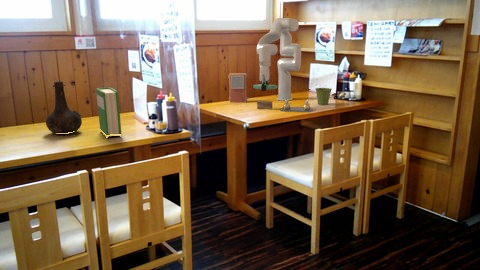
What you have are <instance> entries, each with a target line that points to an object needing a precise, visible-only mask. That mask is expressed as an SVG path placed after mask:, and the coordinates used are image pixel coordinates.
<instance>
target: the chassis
mask: <svg viewBox="0 0 480 270" xmlns="http://www.w3.org/2000/svg"><path fill="white" fill-rule="evenodd" d="M312 110H314V109H313V107H311V104H310V103H309V99H306V100H305V103H304V104H303V106H301V107H300V106H291V103H290V102H289V100H288V99H287V100H285V102H284V104H283V107H282V108H280V110H279V111H280V112H292V113H293V112H295V113H312Z"/></svg>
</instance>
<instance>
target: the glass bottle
mask: <svg viewBox="0 0 480 270" xmlns="http://www.w3.org/2000/svg"><path fill="white" fill-rule="evenodd" d="M53 87H54V100H55V101H54V110H53V112H51V113H49V114H48V115H47V117H46V120H45V125H46V128H47V130H49V132H51V133H53V134H54V133H68V132H73V131H76V132H78V131H79V130H80V128H81V126H82V123H83V120H82V115H81V113H79V112H78V111H76V110H71V109H70V107H69V106H68V102H67V98H66V94H65V89H64V87H66V84H64V81H61V80H60V81H54V83H53V85H52V88H53ZM78 129H79V130H78ZM77 130H78V131H77Z"/></svg>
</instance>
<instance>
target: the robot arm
mask: <svg viewBox="0 0 480 270" xmlns="http://www.w3.org/2000/svg"><path fill="white" fill-rule="evenodd" d="M299 25H300V23H299V21H298V20H297V19H296V18H290V17H281V18H276V19H274V20H273V22H272V25H271V27H270V30H269V32H268V33H266V34H264V35H263V36H262V37H261V38H259V40H258V43H257V46H256V54H257V55H258V59H259V60H258V62H259V82H260V83H261V89H260V90H261V92H267V89H266V85H270V83H269V80H270V67H271V56H275V55H276V54H278V49H279V53H280V56H282V57H283V58H279V59H278V60H277V63H276V64H277V71H278V72H277V73H278V74H277V75H278V81H277V82H278V85H277V88H278V96H277V97H276V100H277V101H283V102H284V101H285V100H287V99H288V101H292V100H293V98H294V97H291V96H292V91H291V89H292V76H291V74H290V72H299V70H300V69H301V65H302V64H301V63H302V47H301V45H300V43H296V42H295V43H292V38H293V36H292V34H291V33H290V32H296V31H298V29H299ZM278 40H279V41H280V42H279V48H278V46H277V45H276V44H274V42H276V41H278ZM290 57H291V58H290Z"/></svg>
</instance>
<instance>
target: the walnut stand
mask: <svg viewBox="0 0 480 270" xmlns="http://www.w3.org/2000/svg"><path fill="white" fill-rule="evenodd" d="M256 109H257V110H273V101H270V100H269V101H268V100H267V101H266V100H257V101H256Z"/></svg>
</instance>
